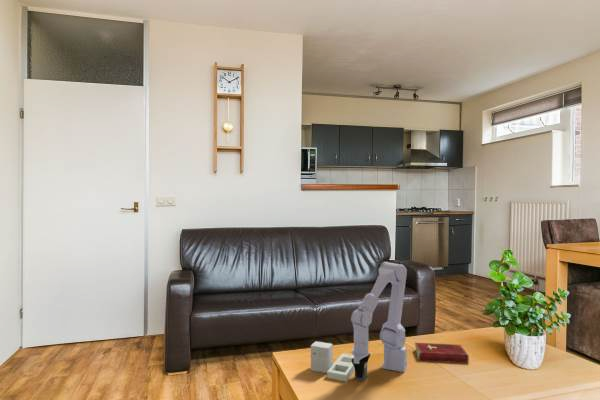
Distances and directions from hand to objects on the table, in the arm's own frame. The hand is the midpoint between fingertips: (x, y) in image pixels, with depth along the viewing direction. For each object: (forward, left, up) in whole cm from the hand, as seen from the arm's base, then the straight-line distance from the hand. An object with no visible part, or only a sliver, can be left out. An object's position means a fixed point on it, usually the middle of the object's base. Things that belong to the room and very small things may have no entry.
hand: (361, 374), depth 152 cm
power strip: (+9, -8, -1) cm, 12 cm away
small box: (+17, -1, -2) cm, 17 cm away
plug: (0, 0, -2) cm, 2 cm away
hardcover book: (-28, -36, -2) cm, 45 cm away
